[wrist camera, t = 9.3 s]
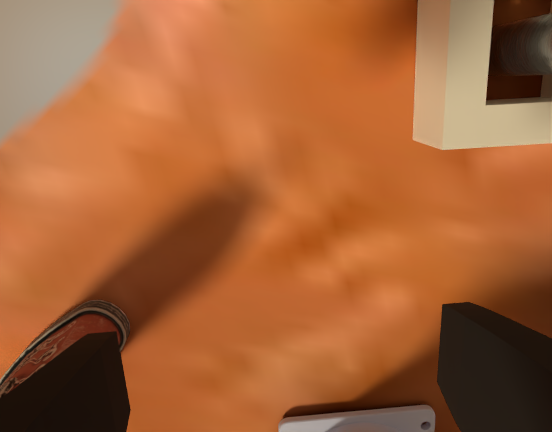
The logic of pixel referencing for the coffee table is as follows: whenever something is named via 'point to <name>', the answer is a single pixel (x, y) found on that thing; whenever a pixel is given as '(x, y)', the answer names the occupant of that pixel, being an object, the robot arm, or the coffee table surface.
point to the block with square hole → (468, 83)
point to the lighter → (66, 338)
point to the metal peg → (522, 47)
